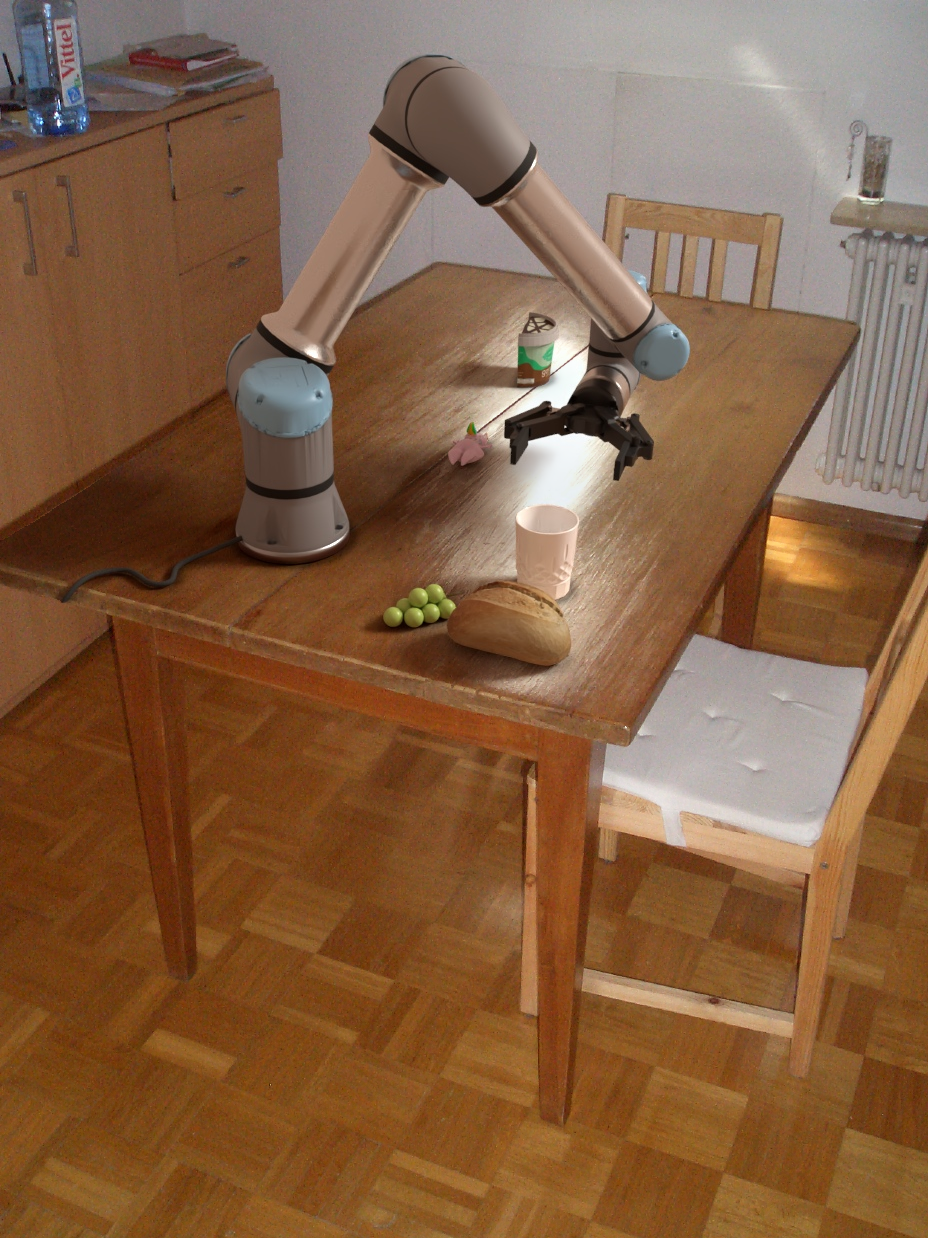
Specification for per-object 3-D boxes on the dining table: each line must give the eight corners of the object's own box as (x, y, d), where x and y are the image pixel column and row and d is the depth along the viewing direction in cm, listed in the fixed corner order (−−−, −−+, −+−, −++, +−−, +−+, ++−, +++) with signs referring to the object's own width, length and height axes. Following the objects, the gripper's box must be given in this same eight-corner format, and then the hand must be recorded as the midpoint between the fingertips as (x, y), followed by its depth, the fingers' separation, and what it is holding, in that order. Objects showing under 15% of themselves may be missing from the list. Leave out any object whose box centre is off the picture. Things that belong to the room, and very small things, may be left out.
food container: (550, 393, 217) (554, 337, 212) (515, 390, 218) (518, 334, 212) (560, 368, 227) (564, 313, 222) (526, 364, 228) (529, 310, 223)
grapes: (392, 637, 152) (392, 607, 149) (376, 618, 155) (375, 588, 153) (473, 615, 156) (474, 586, 154) (455, 597, 160) (456, 568, 157)
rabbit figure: (459, 447, 201) (436, 472, 187) (461, 410, 198) (437, 433, 185) (497, 452, 200) (477, 478, 186) (500, 415, 197) (479, 438, 184)
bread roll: (460, 617, 156) (461, 561, 151) (579, 638, 152) (583, 581, 148) (436, 659, 148) (437, 601, 144) (561, 682, 144) (565, 623, 140)
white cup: (575, 604, 159) (581, 534, 153) (512, 603, 159) (516, 533, 153) (571, 573, 165) (577, 504, 160) (511, 571, 165) (514, 503, 160)
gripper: (682, 439, 179) (657, 504, 161) (511, 414, 184) (470, 474, 167) (689, 389, 175) (664, 450, 157) (514, 365, 180) (472, 422, 163)
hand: (564, 463), depth 162 cm, fingers open, 13 cm apart
